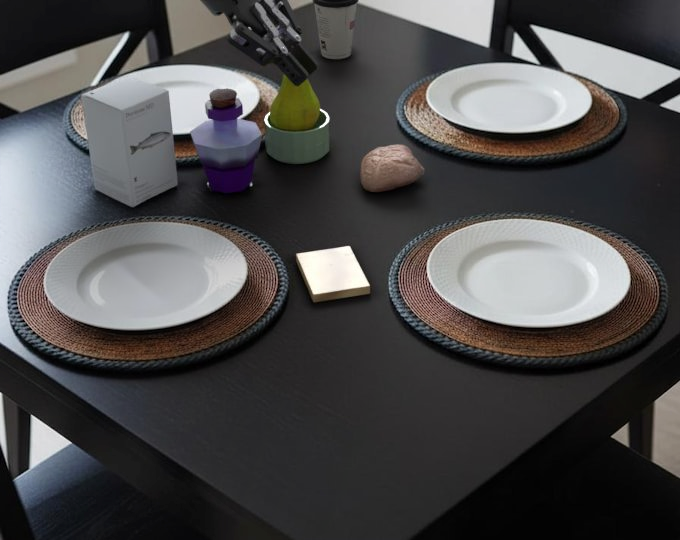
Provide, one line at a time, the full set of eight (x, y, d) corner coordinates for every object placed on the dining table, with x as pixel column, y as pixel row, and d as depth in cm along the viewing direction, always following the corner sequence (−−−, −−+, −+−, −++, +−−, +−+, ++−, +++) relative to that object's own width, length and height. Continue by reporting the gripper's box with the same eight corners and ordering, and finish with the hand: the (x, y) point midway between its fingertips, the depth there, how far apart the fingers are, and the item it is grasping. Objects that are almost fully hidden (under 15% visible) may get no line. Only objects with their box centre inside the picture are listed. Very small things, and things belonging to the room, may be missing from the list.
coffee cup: (315, 63, 159) (314, -2, 153) (312, 46, 164) (310, -17, 159) (361, 61, 159) (361, -4, 154) (356, 44, 165) (356, -19, 159)
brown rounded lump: (413, 161, 132) (353, 151, 129) (431, 132, 127) (369, 122, 124) (418, 211, 128) (356, 202, 126) (437, 184, 123) (372, 174, 121)
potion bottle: (238, 160, 132) (232, 71, 126) (279, 186, 127) (275, 94, 120) (180, 182, 128) (170, 90, 121) (220, 209, 122) (212, 115, 115)
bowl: (273, 169, 130) (271, 136, 128) (260, 140, 137) (258, 108, 135) (336, 160, 132) (336, 128, 130) (321, 132, 139) (320, 101, 136)
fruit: (303, 119, 137) (302, 30, 130) (329, 136, 132) (328, 46, 126) (260, 130, 134) (257, 40, 127) (285, 148, 130) (282, 56, 123)
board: (313, 302, 106) (313, 294, 106) (296, 261, 113) (295, 253, 112) (370, 293, 107) (370, 285, 107) (349, 253, 114) (349, 245, 113)
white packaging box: (133, 209, 122) (119, 110, 115) (93, 189, 126) (78, 92, 119) (180, 186, 127) (170, 89, 120) (140, 167, 131) (128, 73, 124)
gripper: (204, -37, 117) (307, 80, 120) (255, -69, 128) (348, 39, 131) (166, 3, 122) (266, 115, 125) (219, -31, 133) (309, 73, 136)
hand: (308, 76), depth 128 cm, fingers closed on fruit, 2 cm apart
